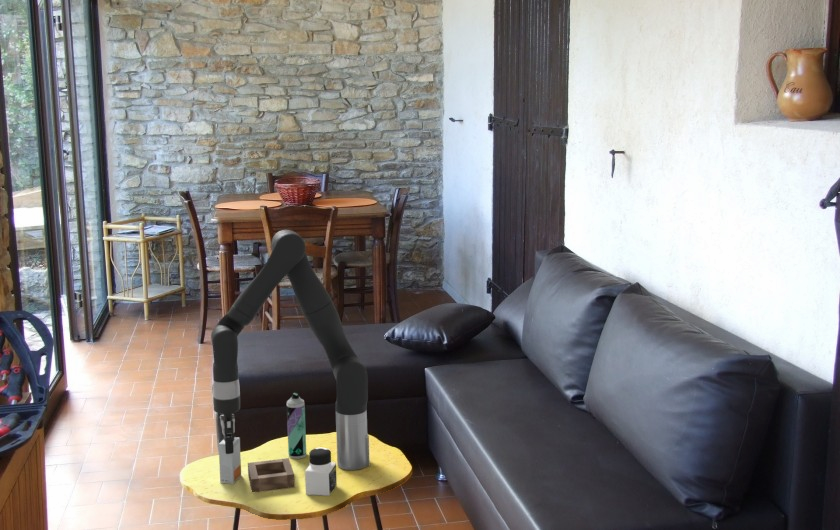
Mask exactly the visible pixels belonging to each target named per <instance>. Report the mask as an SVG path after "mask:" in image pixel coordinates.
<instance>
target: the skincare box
mask: <svg viewBox="0 0 840 530" xmlns="http://www.w3.org/2000/svg"><path fill="white" fill-rule="evenodd" d="M233 451H234V452H233V453H232V454H226V452H225V441H224V438H223V439H222V440H221V441H220V442H219V443H218V459H219V460H218V461H219V462H218V463H219V480H220V481H219V482H220V483H221V484H232V485H233V484H235V482H237V480H238V479H239V478H240V477H242V460H241V459H242V457H241V456H242V455H241V437H236V436H234V441H233Z"/></svg>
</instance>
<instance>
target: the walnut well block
mask: <svg viewBox="0 0 840 530" xmlns="http://www.w3.org/2000/svg"><path fill="white" fill-rule="evenodd" d="M247 476H248V480H249V487H250V490H252V491H251V493H252V492H255V493H260V492H259V491H263V492H269V491H279V490H284V489H294V488H296V487H295V486H296V485H295V484H296V483H295V473H294V470H293V467H292V464H291V461H290V457H288V458H279V459H271V460H262V461H253V462H252V461H251V462H247Z"/></svg>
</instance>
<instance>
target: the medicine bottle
mask: <svg viewBox="0 0 840 530" xmlns="http://www.w3.org/2000/svg"><path fill="white" fill-rule="evenodd" d="M308 453H309V455H308V456H309V459H308V460H309V465H307V468H306V469H305V471H304V483H305V494H306V495H308V496H309V495H310V496H325V497H330V496H331V495H332V494H333V492H334V490H335V489H336V487H337V485H338V484H337V462H335V461H334V462H333V461H332V451H331V449H329V448H326V447H316V448H313V449H311V450H310V451H309V452H308Z"/></svg>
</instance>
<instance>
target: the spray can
mask: <svg viewBox="0 0 840 530" xmlns="http://www.w3.org/2000/svg"><path fill="white" fill-rule="evenodd" d="M305 406H306V405H305V400H304V399H303V398H301V397H300V396H299V393H297V392H293V393H292V395H291V397H290V398H289V399H288V400H286V427H287V446H288V447H287V449H288V458H289V459H295V460H296V459H299V460H300V459H303V458H306V456H307V435H306V408H305Z"/></svg>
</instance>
